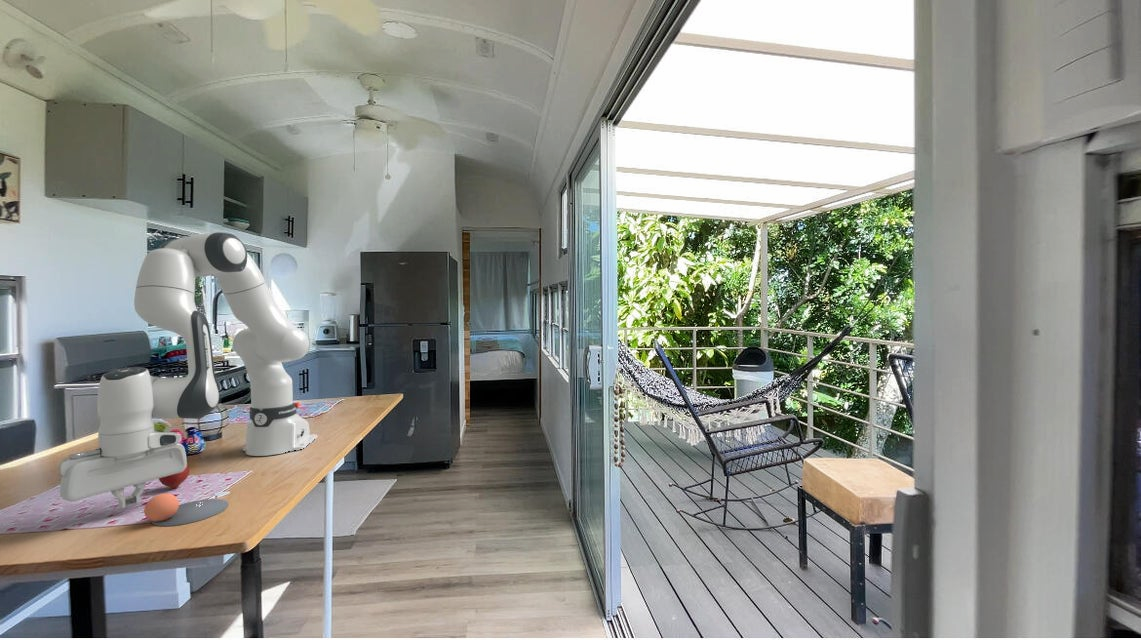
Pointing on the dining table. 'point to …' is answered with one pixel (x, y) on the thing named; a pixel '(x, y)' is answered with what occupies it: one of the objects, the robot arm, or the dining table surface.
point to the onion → (175, 478)
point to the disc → (194, 512)
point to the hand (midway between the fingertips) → (129, 505)
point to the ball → (161, 507)
